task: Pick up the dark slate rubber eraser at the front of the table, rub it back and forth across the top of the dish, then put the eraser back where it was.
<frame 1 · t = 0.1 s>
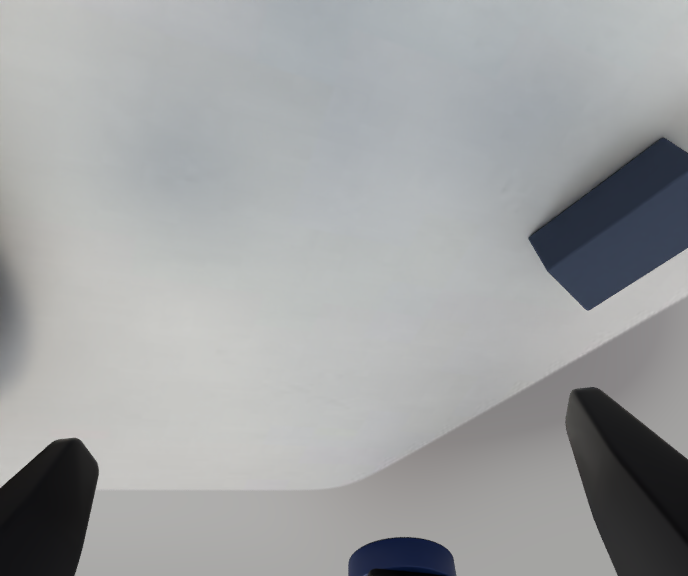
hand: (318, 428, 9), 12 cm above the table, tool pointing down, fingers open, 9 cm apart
eraser: (609, 213, 20), on the table
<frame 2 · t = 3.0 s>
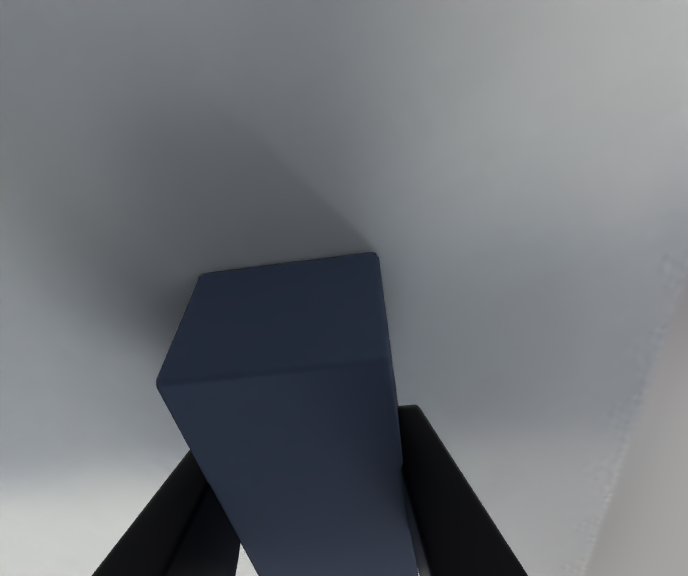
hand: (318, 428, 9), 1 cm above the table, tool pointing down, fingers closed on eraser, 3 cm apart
eraser: (319, 386, 10), on the table, touching gripper
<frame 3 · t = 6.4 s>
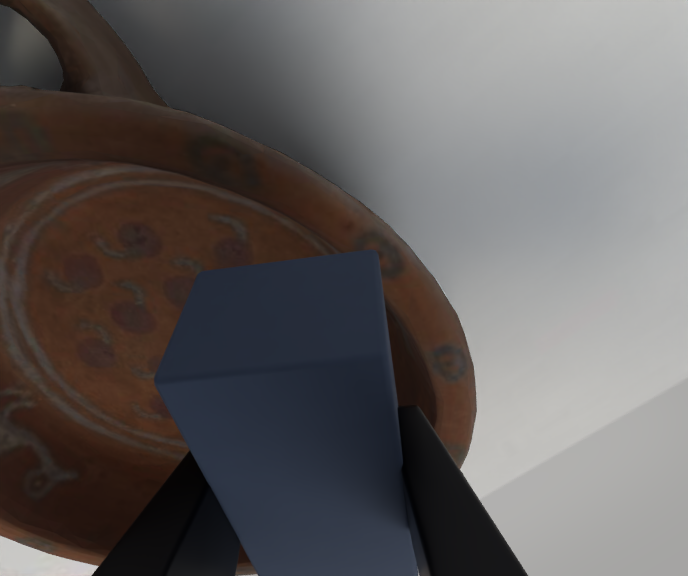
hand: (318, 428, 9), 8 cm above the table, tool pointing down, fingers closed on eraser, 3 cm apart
eraser: (318, 384, 10), point 7 cm above the table, touching gripper
dish: (199, 316, 18), on the table
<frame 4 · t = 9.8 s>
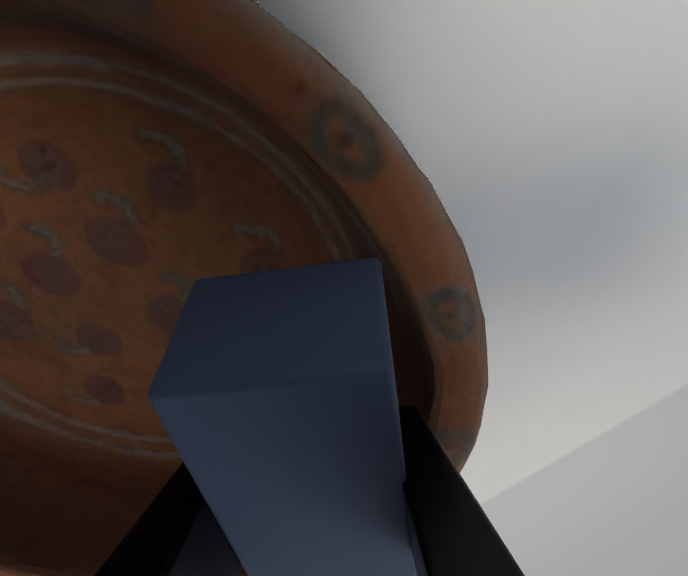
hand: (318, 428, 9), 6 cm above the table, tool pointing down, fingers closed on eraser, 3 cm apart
eraser: (318, 394, 10), point 5 cm above the table, touching gripper
dish: (141, 276, 14), on the table
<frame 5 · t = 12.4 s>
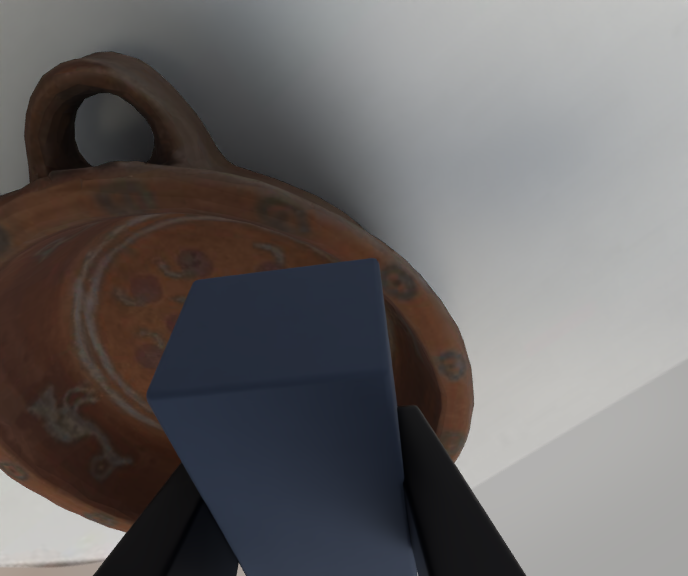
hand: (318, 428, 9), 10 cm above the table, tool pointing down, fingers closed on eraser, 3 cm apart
eraser: (317, 394, 10), point 9 cm above the table, touching gripper
dish: (237, 325, 21), on the table
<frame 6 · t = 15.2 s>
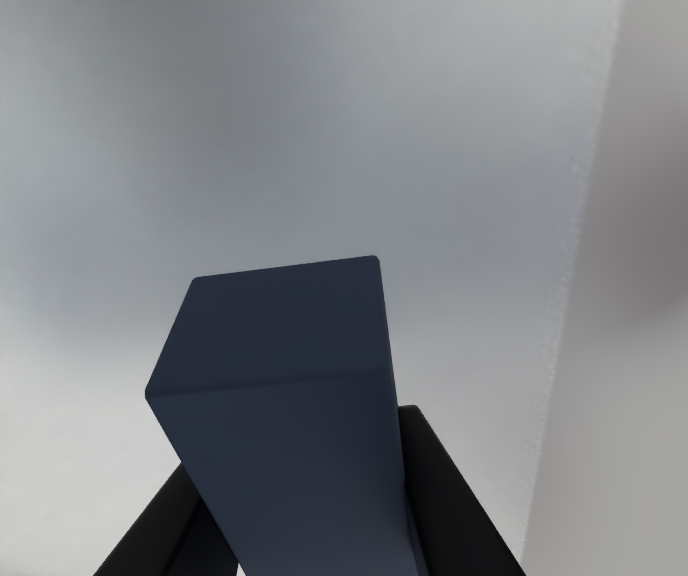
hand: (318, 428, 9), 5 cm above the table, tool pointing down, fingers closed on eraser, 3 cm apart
eraser: (317, 392, 10), point 4 cm above the table, touching gripper
when the fingers open (1 cm above the table, at t = 16.5 s): eraser stays where it is, on the table.
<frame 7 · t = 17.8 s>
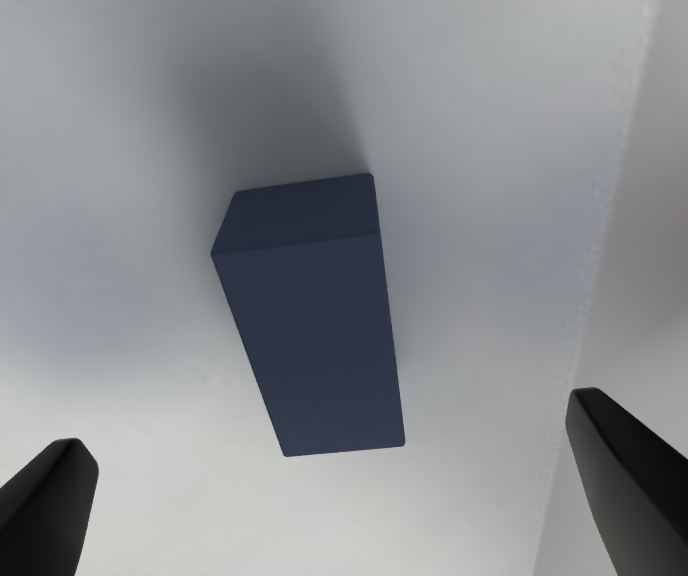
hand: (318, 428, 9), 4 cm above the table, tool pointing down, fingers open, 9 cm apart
eraser: (326, 293, 12), on the table
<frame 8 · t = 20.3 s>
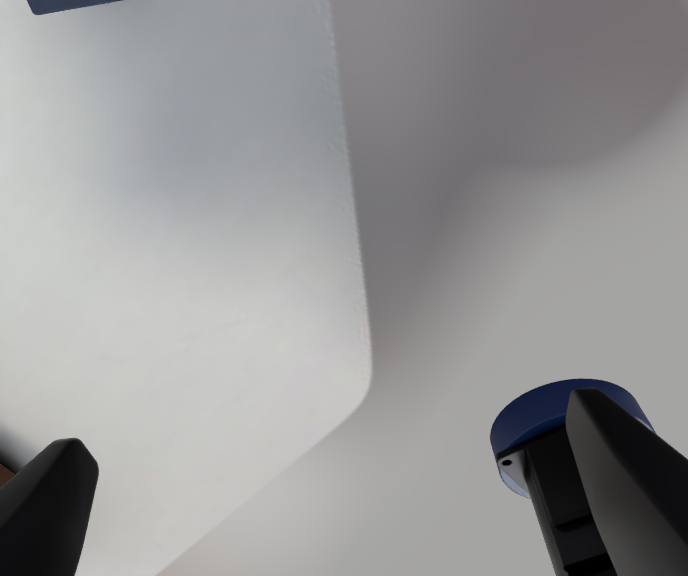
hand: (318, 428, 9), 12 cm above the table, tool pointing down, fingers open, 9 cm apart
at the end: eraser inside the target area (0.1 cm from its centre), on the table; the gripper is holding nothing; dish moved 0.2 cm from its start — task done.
